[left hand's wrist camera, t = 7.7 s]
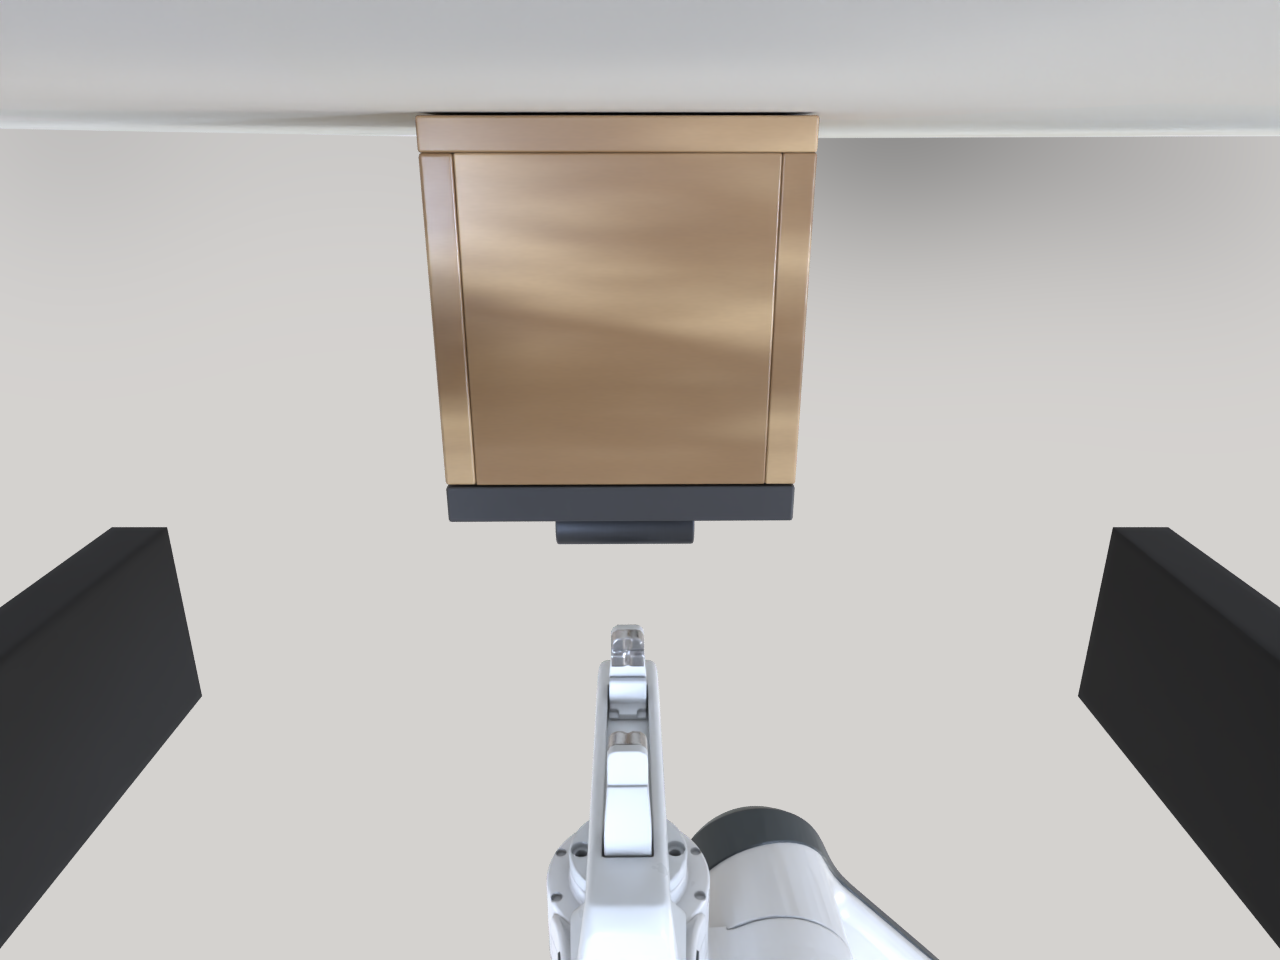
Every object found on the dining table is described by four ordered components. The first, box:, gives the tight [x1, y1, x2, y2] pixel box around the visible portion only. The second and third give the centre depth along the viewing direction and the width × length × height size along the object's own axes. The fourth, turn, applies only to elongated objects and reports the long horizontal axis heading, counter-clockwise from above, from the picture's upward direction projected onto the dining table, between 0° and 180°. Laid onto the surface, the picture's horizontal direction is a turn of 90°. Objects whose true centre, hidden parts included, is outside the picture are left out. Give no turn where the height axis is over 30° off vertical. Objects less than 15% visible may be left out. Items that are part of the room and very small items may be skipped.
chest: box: [415, 115, 819, 485], centre depth 29 cm, size 16×9×9 cm, turn 179°
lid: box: [446, 482, 795, 544], centre depth 33 cm, size 17×9×9 cm, turn 179°
